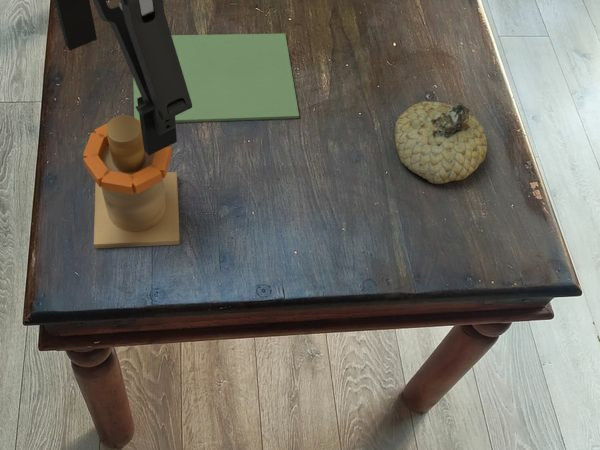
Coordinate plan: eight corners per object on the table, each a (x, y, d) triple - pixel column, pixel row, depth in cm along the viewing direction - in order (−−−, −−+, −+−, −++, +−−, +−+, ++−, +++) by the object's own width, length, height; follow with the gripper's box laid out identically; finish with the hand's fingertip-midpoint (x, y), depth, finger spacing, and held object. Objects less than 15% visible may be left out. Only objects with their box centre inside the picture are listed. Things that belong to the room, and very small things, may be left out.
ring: (113, 206, 67) (111, 199, 66) (72, 148, 70) (70, 140, 68) (185, 169, 70) (184, 161, 69) (143, 115, 73) (142, 106, 72)
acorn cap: (486, 196, 85) (512, 115, 83) (414, 183, 80) (439, 97, 78) (439, 175, 94) (462, 101, 91) (371, 162, 89) (393, 84, 86)
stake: (94, 248, 76) (71, 169, 63) (96, 179, 80) (75, 91, 67) (179, 244, 77) (174, 166, 64) (177, 176, 81) (171, 90, 68)
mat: (134, 124, 84) (134, 121, 84) (132, 38, 91) (132, 35, 91) (298, 118, 88) (299, 115, 87) (284, 36, 94) (285, 33, 94)
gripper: (246, -37, 40) (236, 173, 58) (42, -252, 49) (88, -11, 67) (130, 11, 37) (157, 215, 56) (-66, -226, 46) (13, 18, 64)
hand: (119, 92), depth 61 cm, fingers open, 13 cm apart
